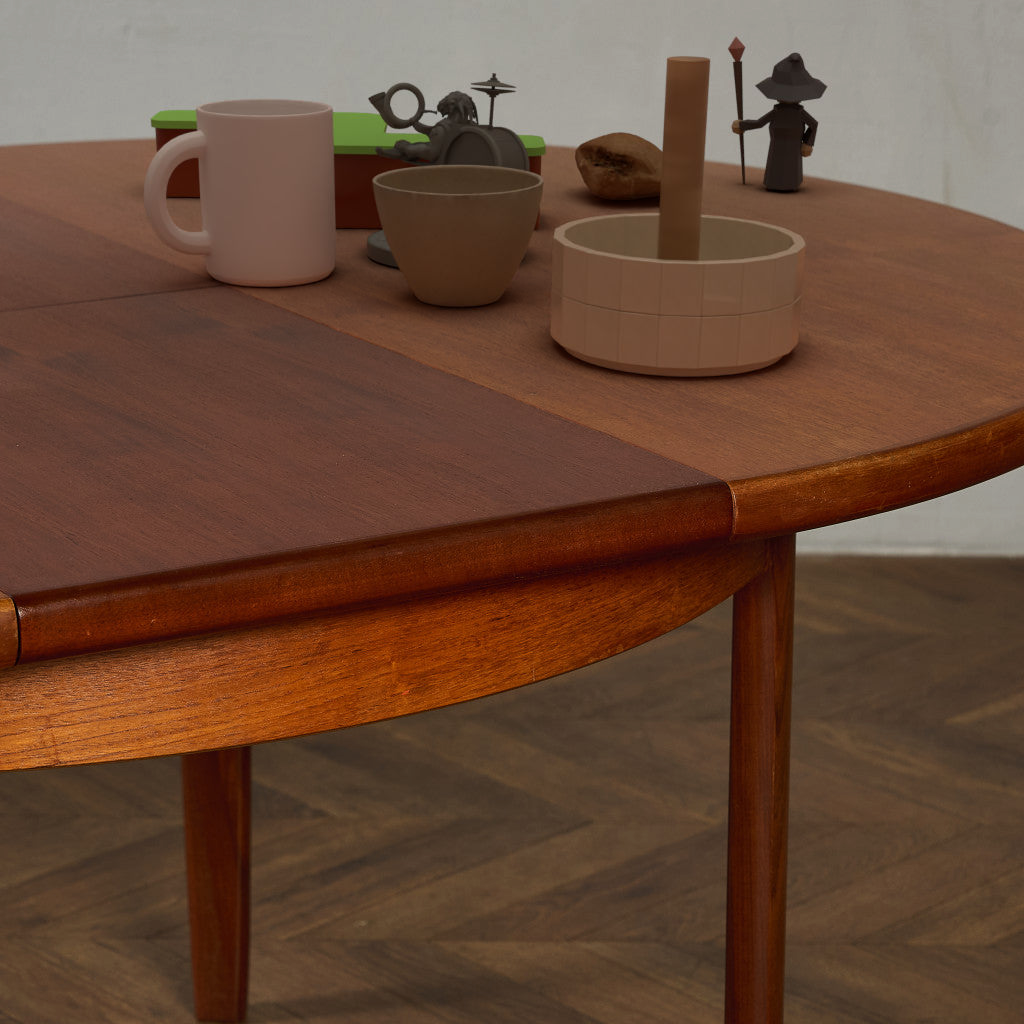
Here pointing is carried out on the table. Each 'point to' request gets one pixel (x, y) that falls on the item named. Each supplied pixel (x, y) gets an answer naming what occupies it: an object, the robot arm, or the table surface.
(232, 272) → the mug
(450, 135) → the figurine
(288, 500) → the table surface
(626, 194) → the brown rounded lump
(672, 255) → the masher
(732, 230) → the bowl
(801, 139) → the wizard figurine
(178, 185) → the planter
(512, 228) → the flower pot
